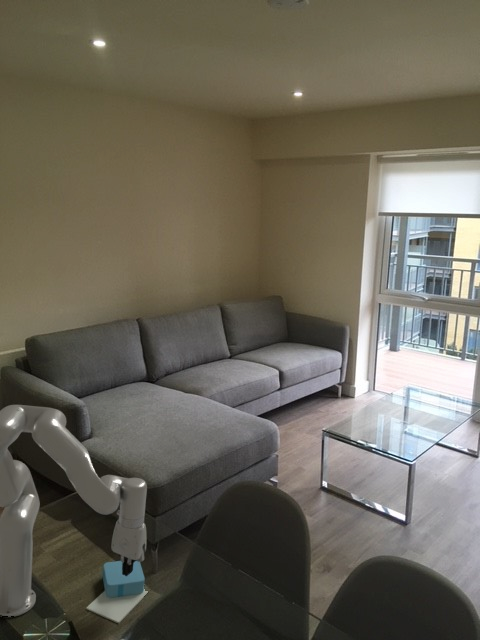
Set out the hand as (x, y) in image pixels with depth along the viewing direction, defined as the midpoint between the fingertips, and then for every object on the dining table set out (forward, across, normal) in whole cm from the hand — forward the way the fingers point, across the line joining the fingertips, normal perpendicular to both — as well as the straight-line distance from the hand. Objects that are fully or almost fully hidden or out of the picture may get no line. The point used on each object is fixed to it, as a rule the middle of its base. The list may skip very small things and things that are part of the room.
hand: (127, 573), depth 167 cm
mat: (+10, -2, 0) cm, 10 cm away
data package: (+7, -9, +2) cm, 12 cm away
